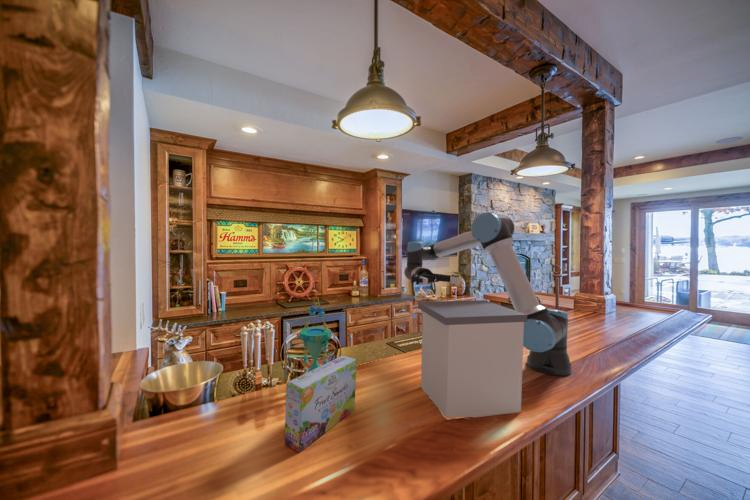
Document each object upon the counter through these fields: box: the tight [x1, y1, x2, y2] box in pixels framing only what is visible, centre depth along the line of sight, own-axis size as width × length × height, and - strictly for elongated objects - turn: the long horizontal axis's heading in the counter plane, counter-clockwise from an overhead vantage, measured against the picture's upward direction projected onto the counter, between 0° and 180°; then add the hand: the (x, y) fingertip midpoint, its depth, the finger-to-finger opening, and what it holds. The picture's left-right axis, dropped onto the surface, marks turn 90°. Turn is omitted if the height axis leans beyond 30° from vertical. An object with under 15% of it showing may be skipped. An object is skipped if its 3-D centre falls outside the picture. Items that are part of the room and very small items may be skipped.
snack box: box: [284, 355, 358, 454], centre depth 77 cm, size 21×6×15 cm, turn 148°
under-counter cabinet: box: [417, 299, 527, 418], centre depth 93 cm, size 25×21×28 cm
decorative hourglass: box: [299, 296, 333, 375], centre depth 96 cm, size 11×11×30 cm
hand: (443, 281), depth 116 cm, fingers open, 13 cm apart
